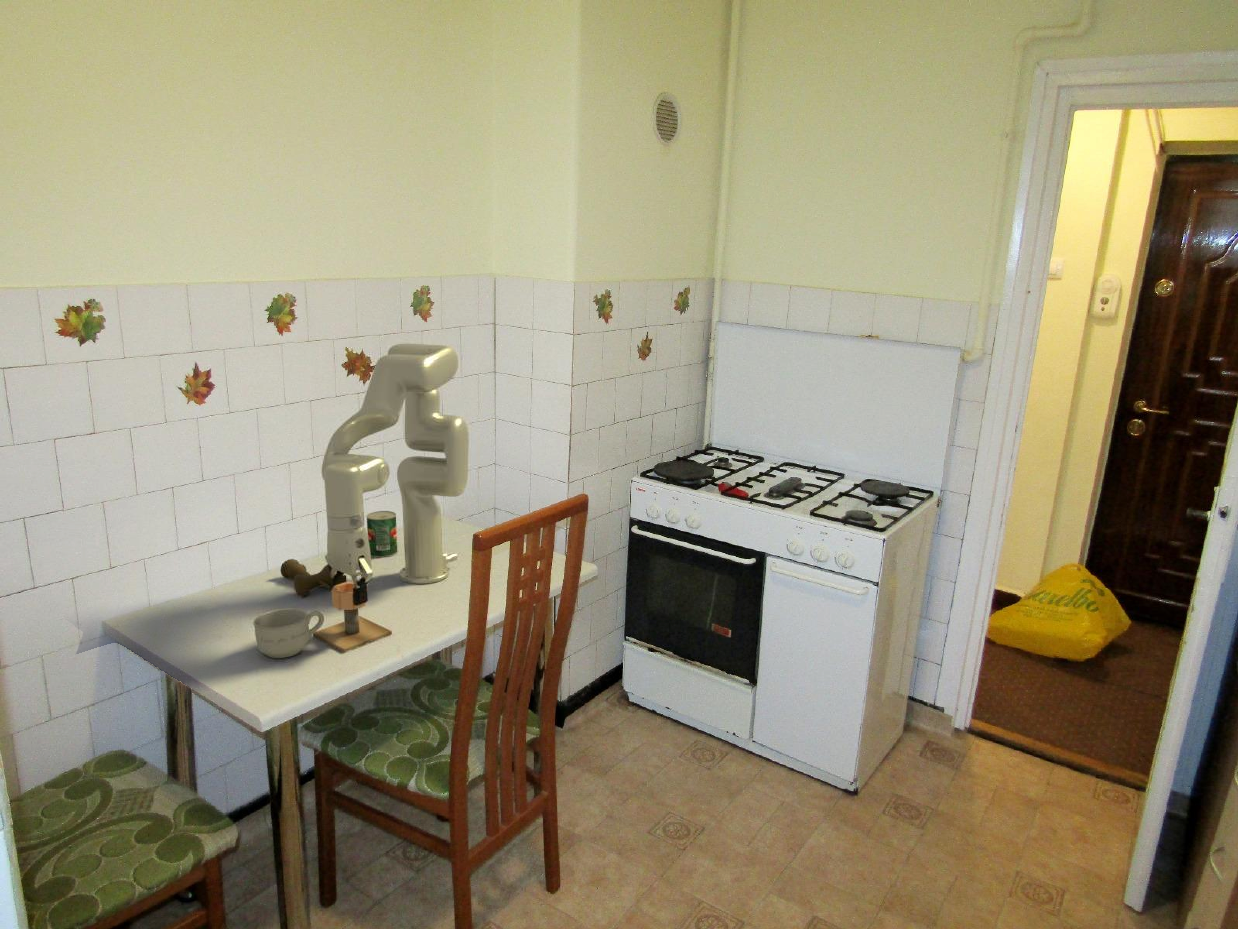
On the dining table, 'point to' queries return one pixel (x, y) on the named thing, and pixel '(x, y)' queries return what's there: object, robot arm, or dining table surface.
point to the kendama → (305, 577)
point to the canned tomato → (382, 533)
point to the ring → (344, 597)
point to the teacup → (284, 631)
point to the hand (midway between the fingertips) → (350, 598)
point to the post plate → (352, 640)
